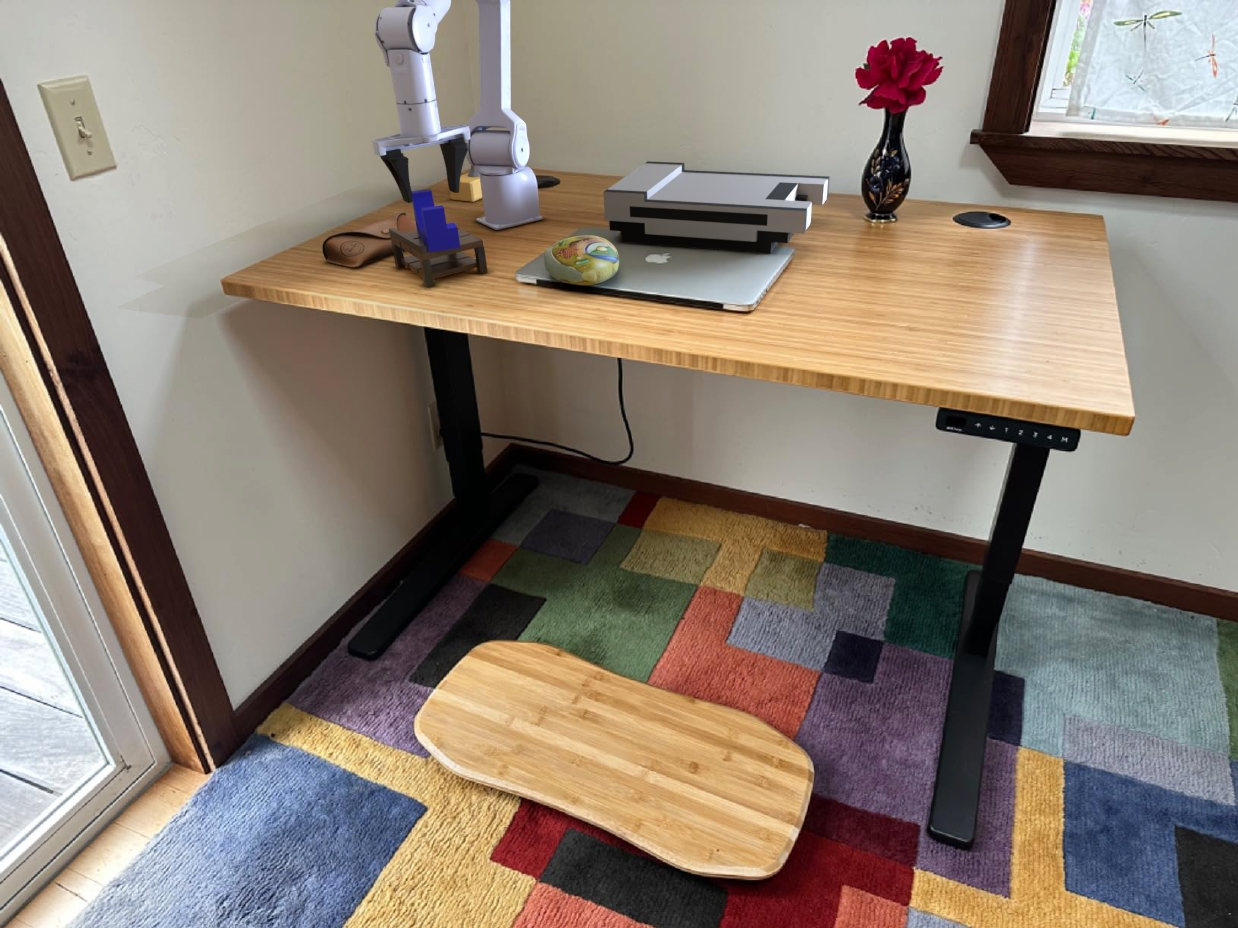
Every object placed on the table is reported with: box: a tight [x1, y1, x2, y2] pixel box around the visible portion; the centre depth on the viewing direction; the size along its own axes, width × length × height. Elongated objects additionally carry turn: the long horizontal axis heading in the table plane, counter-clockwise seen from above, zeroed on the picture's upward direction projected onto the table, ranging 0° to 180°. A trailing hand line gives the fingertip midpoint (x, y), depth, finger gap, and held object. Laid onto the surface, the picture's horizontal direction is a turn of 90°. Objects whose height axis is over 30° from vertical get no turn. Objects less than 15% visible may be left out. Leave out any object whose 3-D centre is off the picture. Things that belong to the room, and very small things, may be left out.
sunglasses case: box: [321, 212, 417, 268], centre depth 143 cm, size 18×7×7 cm
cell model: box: [543, 234, 620, 286], centre depth 126 cm, size 11×8×15 cm
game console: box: [602, 160, 831, 254], centre depth 142 cm, size 21×32×8 cm, turn 69°
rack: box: [389, 227, 488, 288], centre depth 132 cm, size 10×12×6 cm
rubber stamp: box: [449, 140, 482, 203], centre depth 168 cm, size 10×6×12 cm, turn 150°
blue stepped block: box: [411, 188, 460, 252], centre depth 129 cm, size 12×4×6 cm, turn 20°
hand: (431, 196), depth 131 cm, fingers open, 7 cm apart
